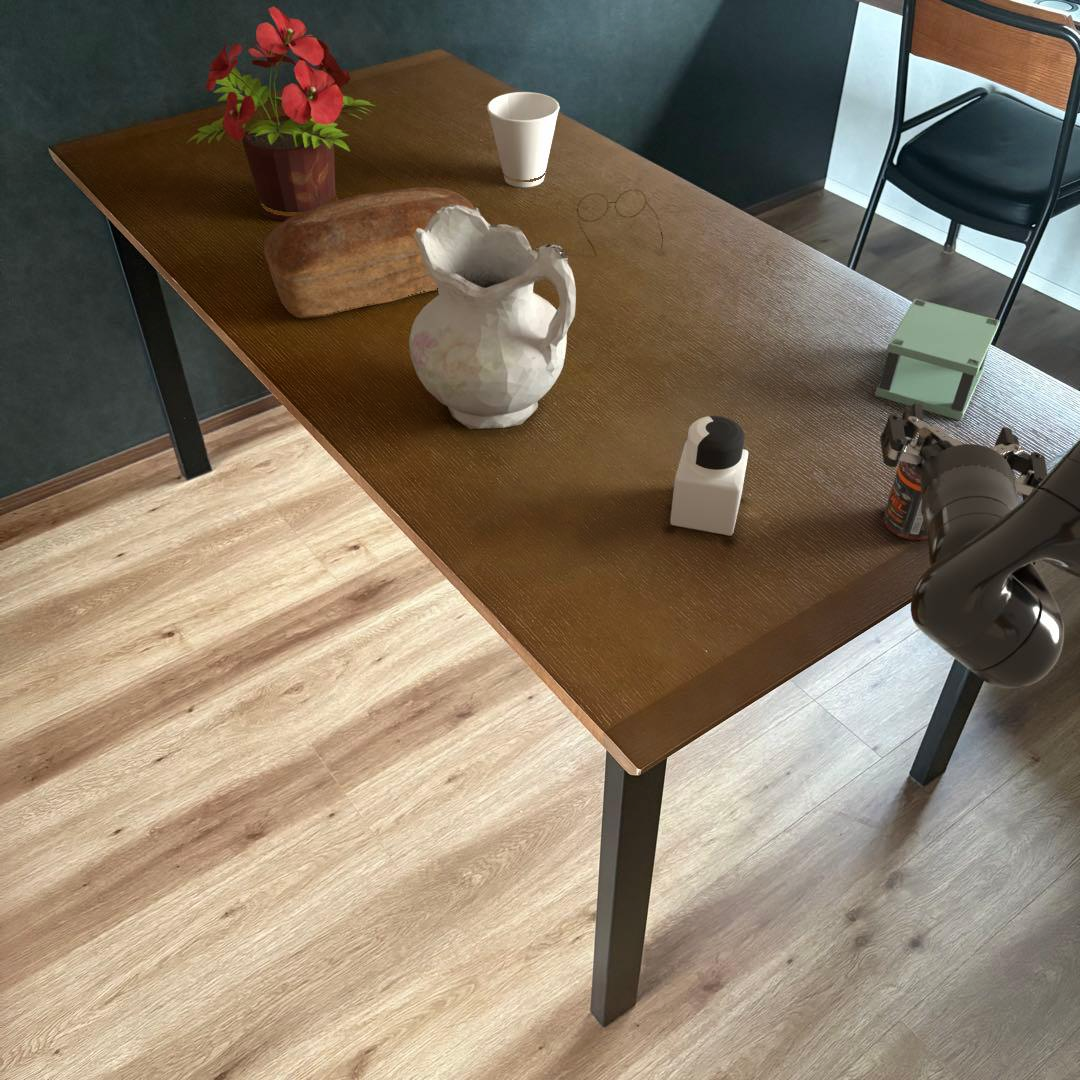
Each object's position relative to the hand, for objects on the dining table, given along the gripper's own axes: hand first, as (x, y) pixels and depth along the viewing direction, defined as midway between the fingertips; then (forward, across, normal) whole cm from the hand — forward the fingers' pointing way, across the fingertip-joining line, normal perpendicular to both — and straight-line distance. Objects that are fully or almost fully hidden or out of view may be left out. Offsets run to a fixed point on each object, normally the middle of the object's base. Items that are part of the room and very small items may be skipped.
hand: (957, 424), depth 103 cm
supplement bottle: (+11, -2, +18) cm, 21 cm away
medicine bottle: (+7, +20, +21) cm, 30 cm away
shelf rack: (+38, -3, +12) cm, 40 cm away
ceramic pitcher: (+20, +49, +22) cm, 57 cm away
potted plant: (+66, +97, +19) cm, 119 cm away
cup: (+82, +64, +12) cm, 105 cm away
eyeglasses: (+66, +44, +12) cm, 81 cm away
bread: (+43, +74, +21) cm, 88 cm away
